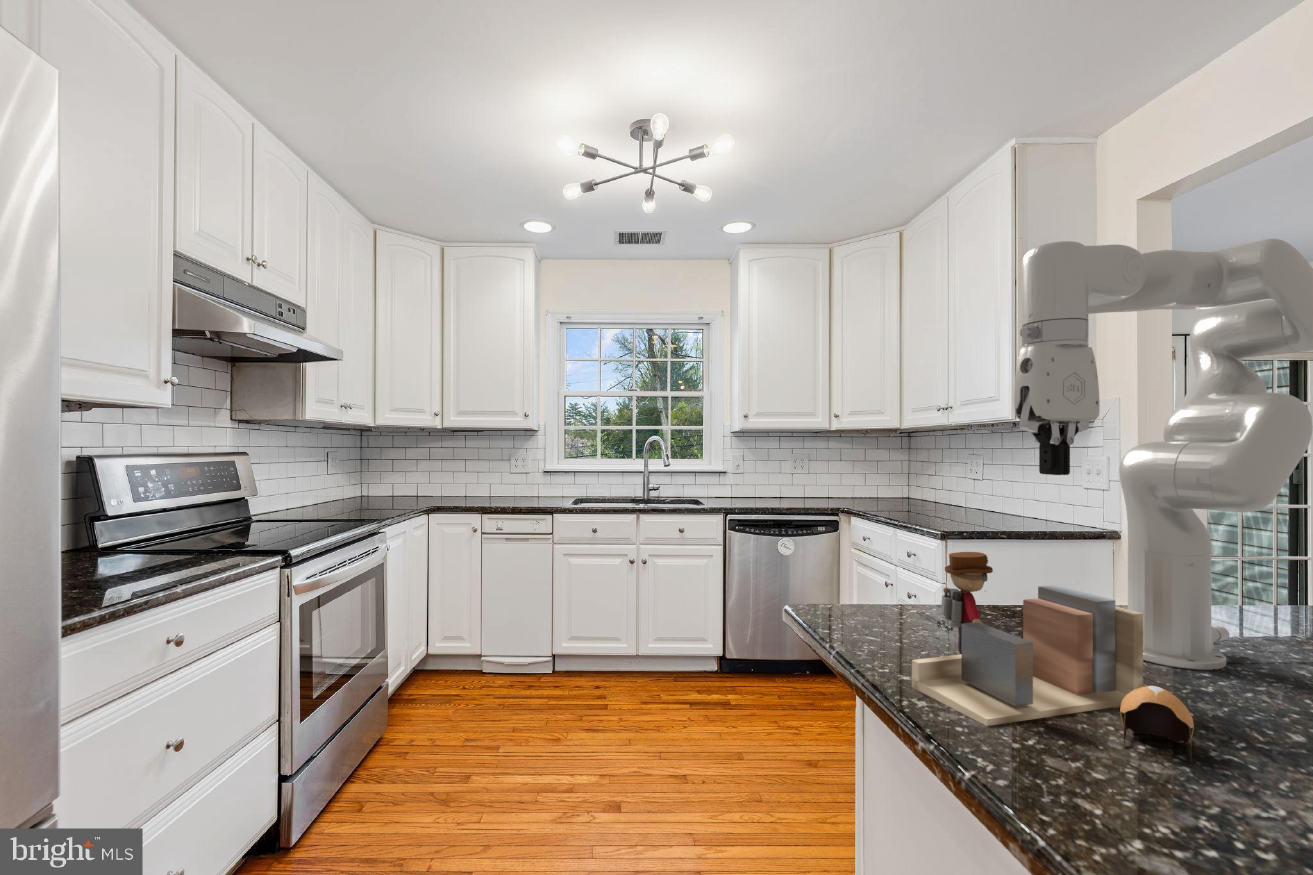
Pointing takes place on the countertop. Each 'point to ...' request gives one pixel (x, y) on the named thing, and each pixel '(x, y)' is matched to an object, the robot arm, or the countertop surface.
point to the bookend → (997, 663)
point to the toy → (964, 589)
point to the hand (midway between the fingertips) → (1054, 474)
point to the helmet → (1157, 715)
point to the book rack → (1053, 660)
